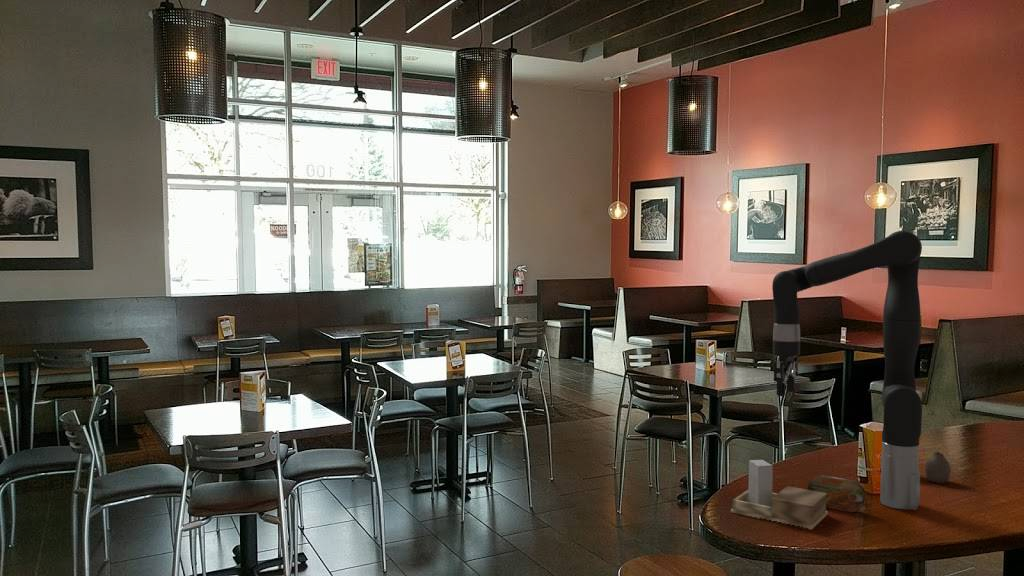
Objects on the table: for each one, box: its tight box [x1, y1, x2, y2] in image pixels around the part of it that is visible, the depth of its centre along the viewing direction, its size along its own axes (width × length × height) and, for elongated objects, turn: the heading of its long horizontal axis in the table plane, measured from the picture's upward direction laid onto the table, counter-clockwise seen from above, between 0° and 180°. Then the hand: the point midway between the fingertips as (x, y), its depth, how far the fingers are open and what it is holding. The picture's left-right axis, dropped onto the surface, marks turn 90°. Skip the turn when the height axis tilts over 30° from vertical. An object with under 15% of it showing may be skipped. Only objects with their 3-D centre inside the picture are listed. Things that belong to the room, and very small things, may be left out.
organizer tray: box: [730, 485, 828, 530], centre depth 203 cm, size 21×14×6 cm, turn 52°
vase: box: [924, 451, 952, 484], centre depth 231 cm, size 7×7×9 cm
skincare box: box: [748, 459, 774, 507], centre depth 207 cm, size 6×4×12 cm
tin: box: [807, 474, 867, 513], centre depth 208 cm, size 15×3×8 cm, turn 49°
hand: (785, 393), depth 224 cm, fingers open, 8 cm apart
